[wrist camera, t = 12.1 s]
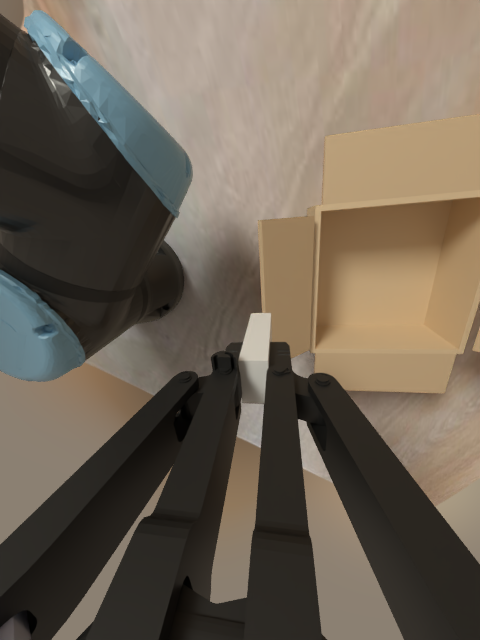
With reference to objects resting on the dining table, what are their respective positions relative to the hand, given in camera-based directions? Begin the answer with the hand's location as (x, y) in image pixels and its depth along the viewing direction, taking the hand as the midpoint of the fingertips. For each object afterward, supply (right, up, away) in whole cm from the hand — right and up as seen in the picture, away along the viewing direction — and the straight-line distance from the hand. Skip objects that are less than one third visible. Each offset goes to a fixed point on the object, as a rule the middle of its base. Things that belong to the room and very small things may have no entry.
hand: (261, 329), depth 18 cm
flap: (+7, +5, +10) cm, 13 cm away
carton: (+17, +8, +16) cm, 25 cm away
